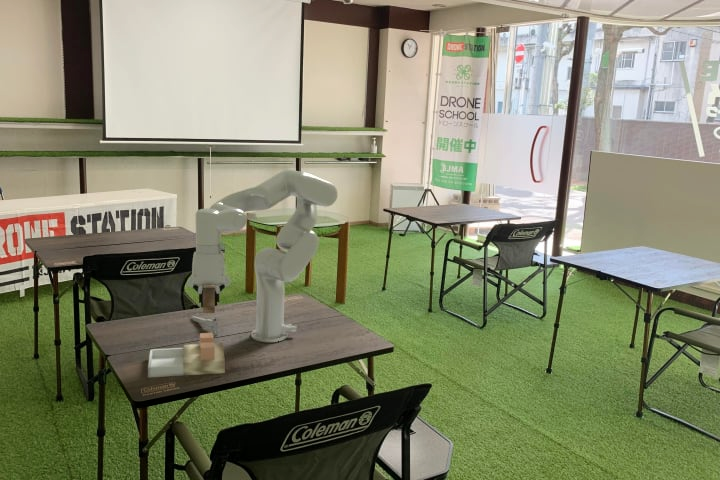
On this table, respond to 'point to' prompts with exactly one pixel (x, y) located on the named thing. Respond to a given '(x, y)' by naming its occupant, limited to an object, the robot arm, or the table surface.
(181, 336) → the table surface
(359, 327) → the table surface
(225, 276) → the robot arm
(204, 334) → the pink cube
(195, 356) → the beige flat block
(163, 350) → the tray
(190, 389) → the table surface
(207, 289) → the brown tapered block
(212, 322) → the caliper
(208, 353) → the tan wooden cube
